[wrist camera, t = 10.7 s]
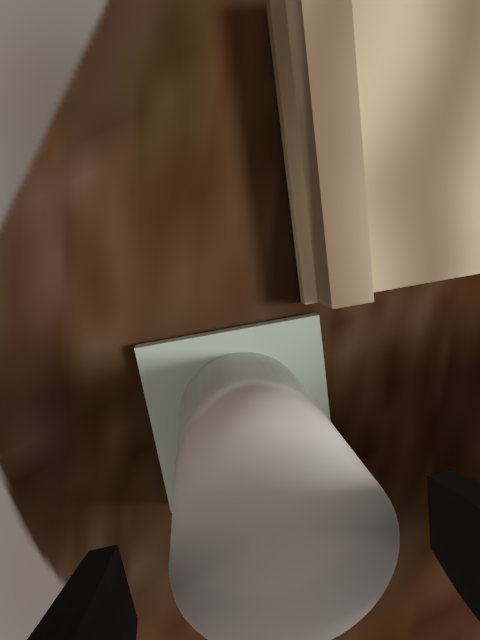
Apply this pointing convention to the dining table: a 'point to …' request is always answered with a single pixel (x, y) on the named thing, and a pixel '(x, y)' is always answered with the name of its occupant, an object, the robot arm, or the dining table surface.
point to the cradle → (379, 141)
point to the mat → (200, 349)
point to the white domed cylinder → (272, 511)
